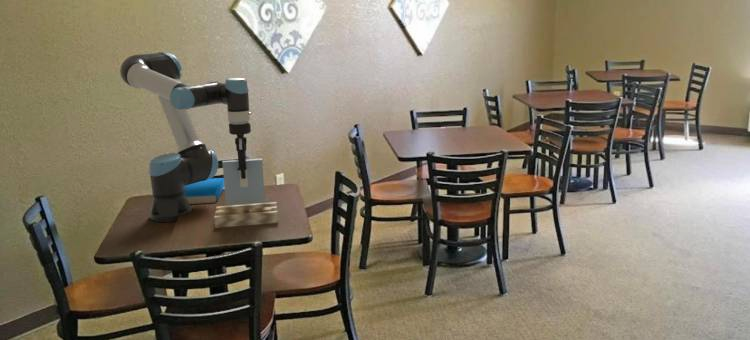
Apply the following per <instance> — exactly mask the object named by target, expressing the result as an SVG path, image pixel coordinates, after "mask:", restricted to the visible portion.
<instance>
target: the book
mask: <svg viewBox="0 0 750 340" xmlns="http://www.w3.org/2000/svg"><path fill="white" fill-rule="evenodd" d="M184 189H185V195H186V198H187V200H188V202H189V204H190V205H194V204H196V205H197V204H211V203H212V204H214V203H216V202H217V201H218V200H219V198H220V195H221V193H222V192H223V190H224V189H225V186H224V177H217V178H216V177H215V178H214V177H212V178H210V179H207V180H205V181H200V182H197V183H193V184H189V185H186V186H184Z"/></svg>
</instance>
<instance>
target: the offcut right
mask: <svg viewBox="0 0 750 340" xmlns="http://www.w3.org/2000/svg"><path fill="white" fill-rule="evenodd" d="M268 211H272V209H271V207H267V208H255V209H249V213H256V212H268Z"/></svg>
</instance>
